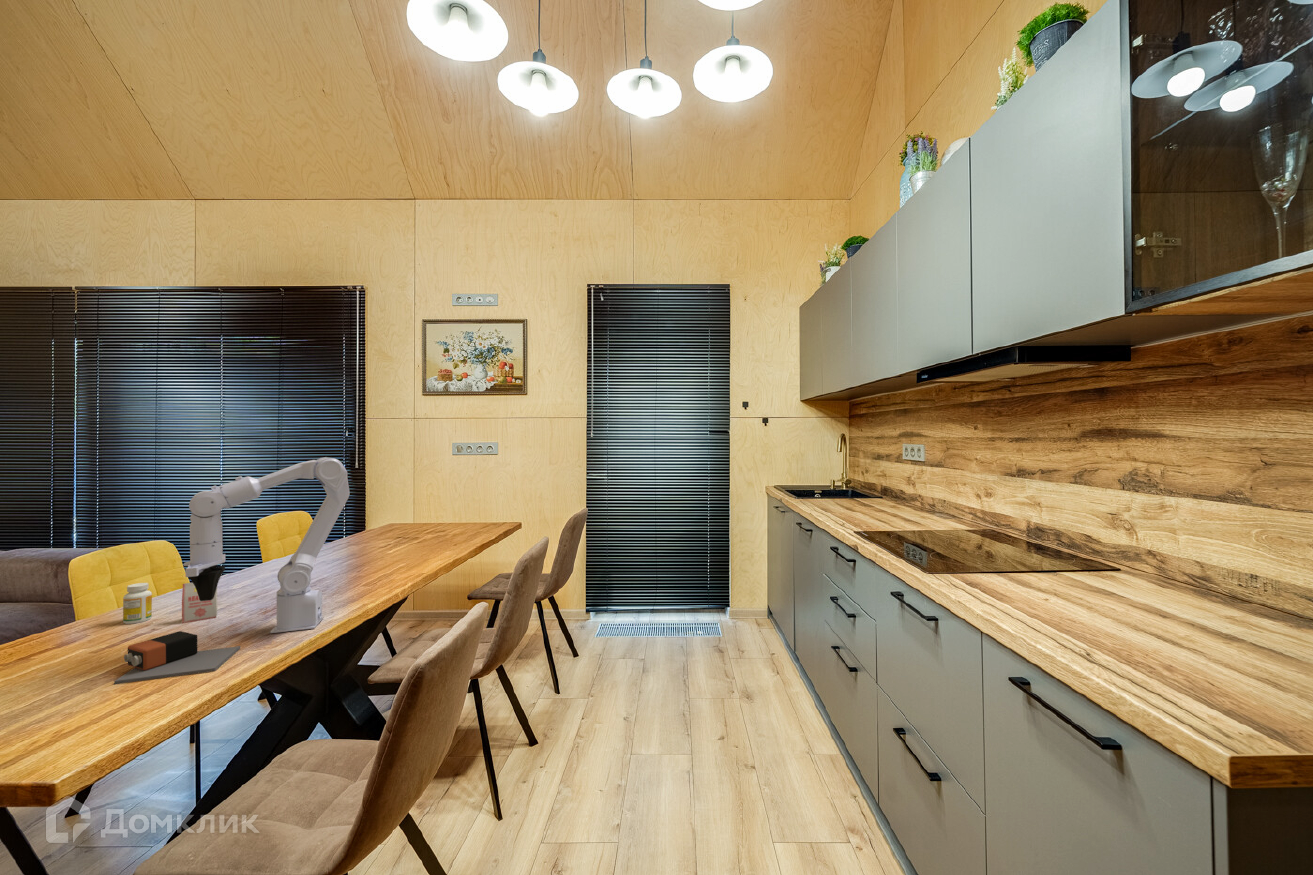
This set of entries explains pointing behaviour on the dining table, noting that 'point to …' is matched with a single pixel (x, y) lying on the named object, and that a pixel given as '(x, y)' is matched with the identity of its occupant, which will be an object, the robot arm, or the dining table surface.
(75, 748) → the dining table surface
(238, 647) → the mat
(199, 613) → the white carton box
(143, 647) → the battery
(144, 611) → the supplement bottle
